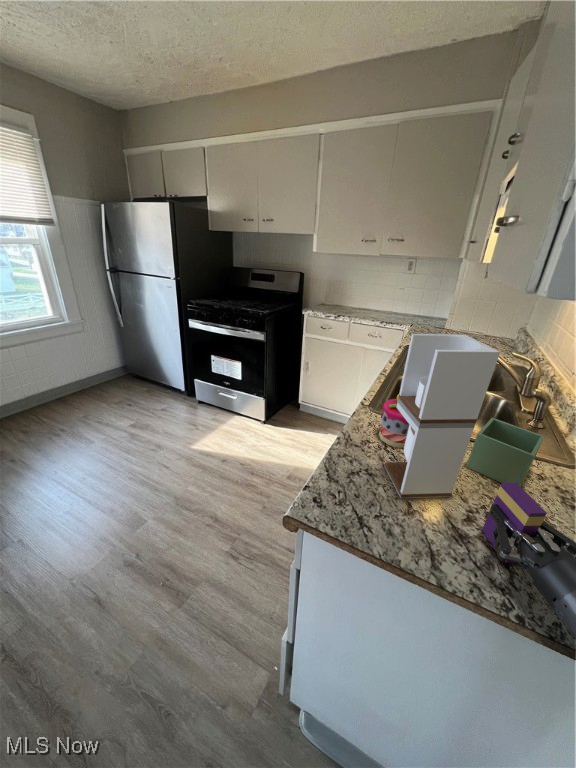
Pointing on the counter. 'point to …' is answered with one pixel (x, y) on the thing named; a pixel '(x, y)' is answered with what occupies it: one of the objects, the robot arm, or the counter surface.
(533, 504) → the chocolate bar
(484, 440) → the waste bin
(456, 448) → the display case
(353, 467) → the counter surface
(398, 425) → the cake
